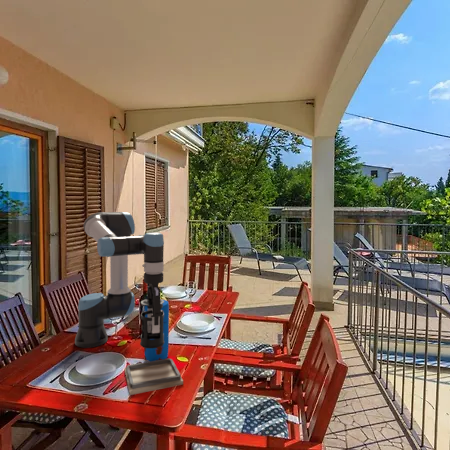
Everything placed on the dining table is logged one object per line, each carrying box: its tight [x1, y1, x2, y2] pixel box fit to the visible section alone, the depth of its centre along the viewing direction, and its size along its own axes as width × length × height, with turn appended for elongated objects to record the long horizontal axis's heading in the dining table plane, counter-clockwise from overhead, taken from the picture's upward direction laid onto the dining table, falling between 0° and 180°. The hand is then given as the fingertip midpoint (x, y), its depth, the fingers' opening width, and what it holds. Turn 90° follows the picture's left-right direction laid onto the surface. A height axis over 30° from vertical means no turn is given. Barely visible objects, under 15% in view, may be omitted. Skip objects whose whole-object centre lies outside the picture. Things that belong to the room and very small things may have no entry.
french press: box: [139, 286, 164, 349], centre depth 132 cm, size 12×9×23 cm
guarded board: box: [124, 357, 184, 396], centre depth 134 cm, size 18×20×3 cm
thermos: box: [143, 299, 170, 362], centre depth 152 cm, size 11×11×25 cm
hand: (153, 328), depth 132 cm, fingers closed on french press, 9 cm apart
